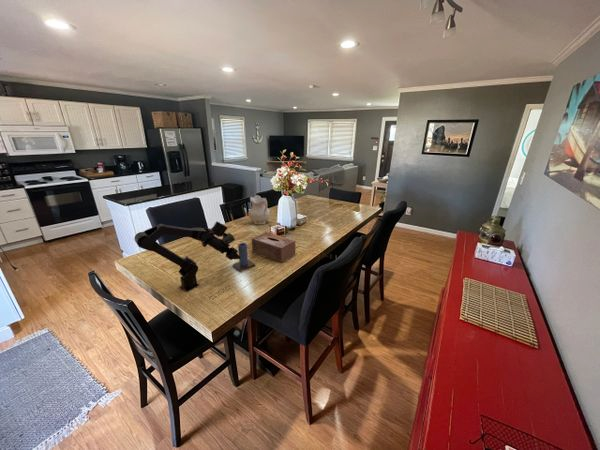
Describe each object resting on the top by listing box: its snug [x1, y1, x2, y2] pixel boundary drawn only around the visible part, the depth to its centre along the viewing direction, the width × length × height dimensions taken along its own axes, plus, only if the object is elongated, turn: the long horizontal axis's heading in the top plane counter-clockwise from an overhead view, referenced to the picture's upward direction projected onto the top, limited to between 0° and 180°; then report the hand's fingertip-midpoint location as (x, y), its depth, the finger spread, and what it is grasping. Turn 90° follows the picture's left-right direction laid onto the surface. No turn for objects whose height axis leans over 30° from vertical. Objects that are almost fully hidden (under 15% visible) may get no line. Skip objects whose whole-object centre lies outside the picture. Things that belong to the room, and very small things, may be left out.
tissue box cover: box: [251, 231, 296, 263], centre depth 159 cm, size 26×14×10 cm, turn 55°
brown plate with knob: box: [232, 259, 256, 272], centre depth 144 cm, size 10×9×4 cm
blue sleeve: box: [237, 242, 249, 266], centre depth 142 cm, size 5×5×13 cm
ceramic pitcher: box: [247, 194, 271, 225], centre depth 215 cm, size 22×20×25 cm
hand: (236, 255), depth 139 cm, fingers open, 9 cm apart
